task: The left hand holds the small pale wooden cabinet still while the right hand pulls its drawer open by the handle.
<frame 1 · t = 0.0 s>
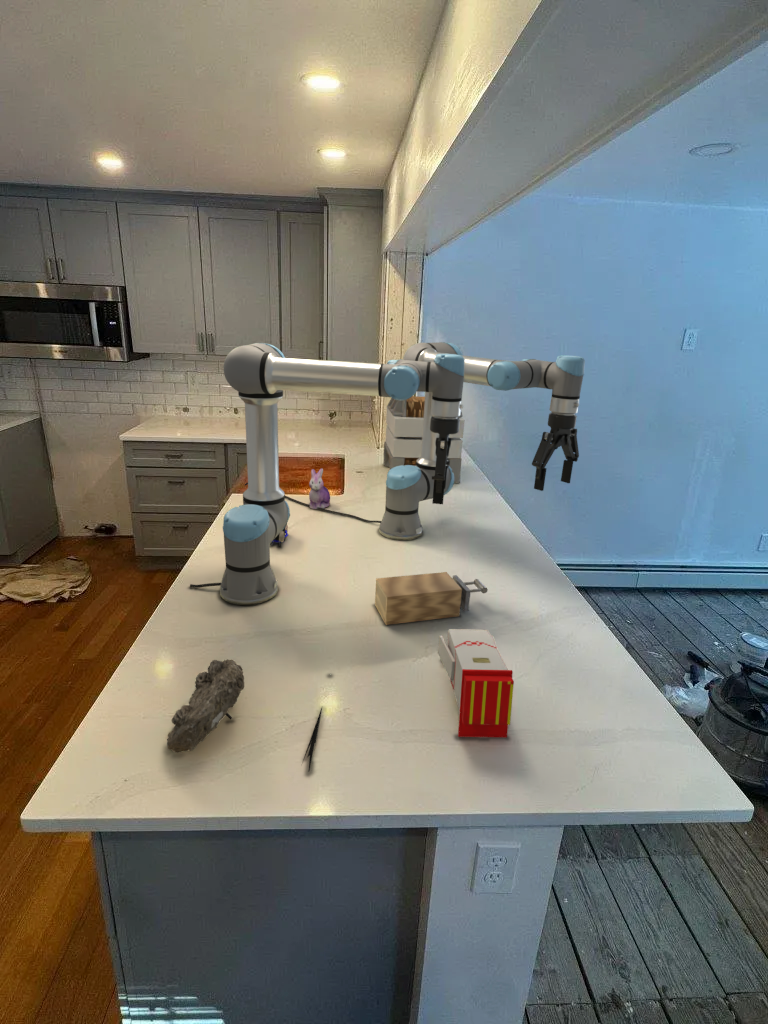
left hand: (439, 495, 152), 28 cm above the counter, tool pointing down, fingers open, 13 cm apart
right hand: (552, 485, 166), 28 cm above the counter, tool pointing down, fingers open, 13 cm apart
cabinet: (416, 610, 150), on the counter
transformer: (419, 473, 275), on the counter
toy: (469, 691, 119), on the counter
feather: (319, 719, 109), on the counter
fossil: (212, 717, 108), on the counter
figurine character: (278, 540, 190), on the counter
figurine: (319, 506, 224), on the counter
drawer: (440, 594, 150), point 4 cm above the counter, slide at 1.6 cm
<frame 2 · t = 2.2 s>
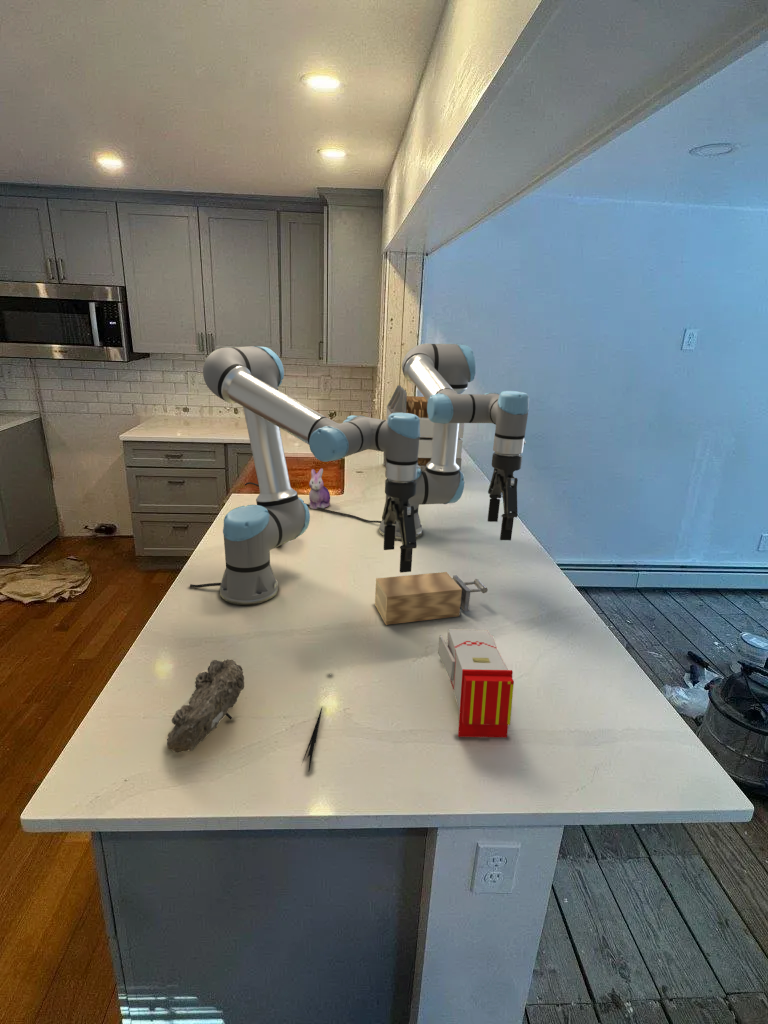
left hand: (396, 560, 143), 15 cm above the counter, tool pointing down, fingers open, 13 cm apart
right hand: (498, 530, 153), 20 cm above the counter, tool pointing down, fingers open, 13 cm apart
nothing on the counter moved.
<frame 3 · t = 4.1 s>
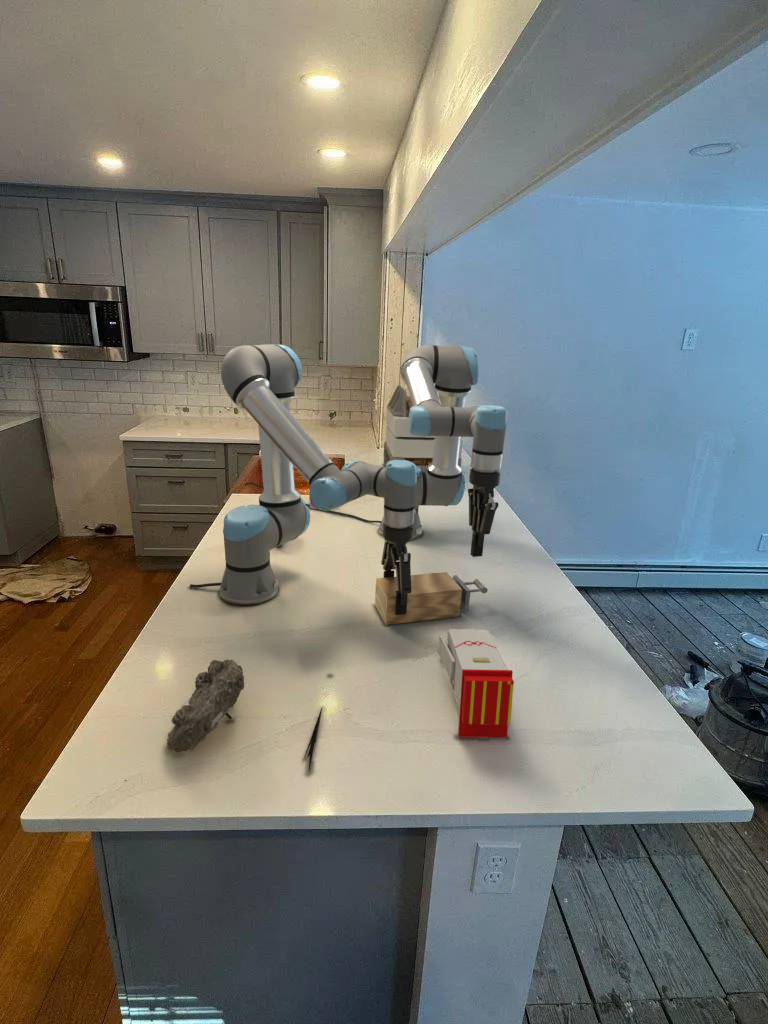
left hand: (394, 603, 147), 3 cm above the counter, tool pointing down, fingers closed on cabinet, 10 cm apart
right hand: (476, 555, 149), 15 cm above the counter, tool pointing down, fingers closed
cabinet: (416, 610, 150), on the counter, touching left hand
everything else where it was.
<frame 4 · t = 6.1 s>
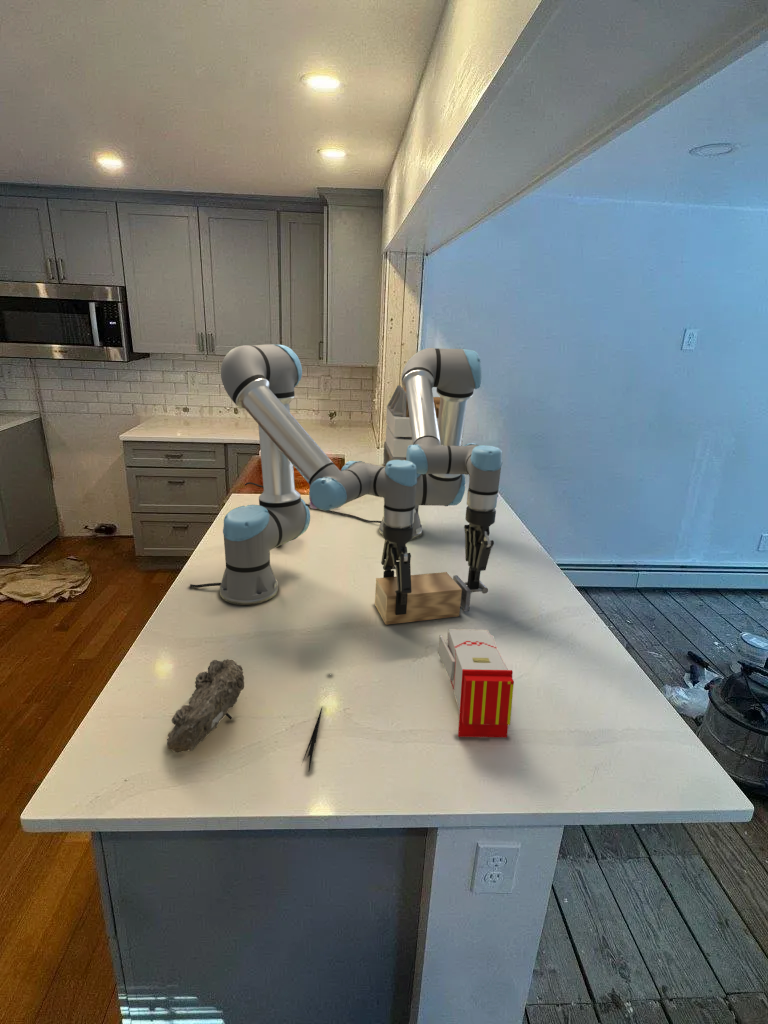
left hand: (394, 603, 147), 3 cm above the counter, tool pointing down, fingers closed on cabinet, 10 cm apart
right hand: (472, 589, 152), 4 cm above the counter, tool pointing down, fingers closed
cabinet: (416, 610, 150), on the counter, touching left hand
everything else where it was.
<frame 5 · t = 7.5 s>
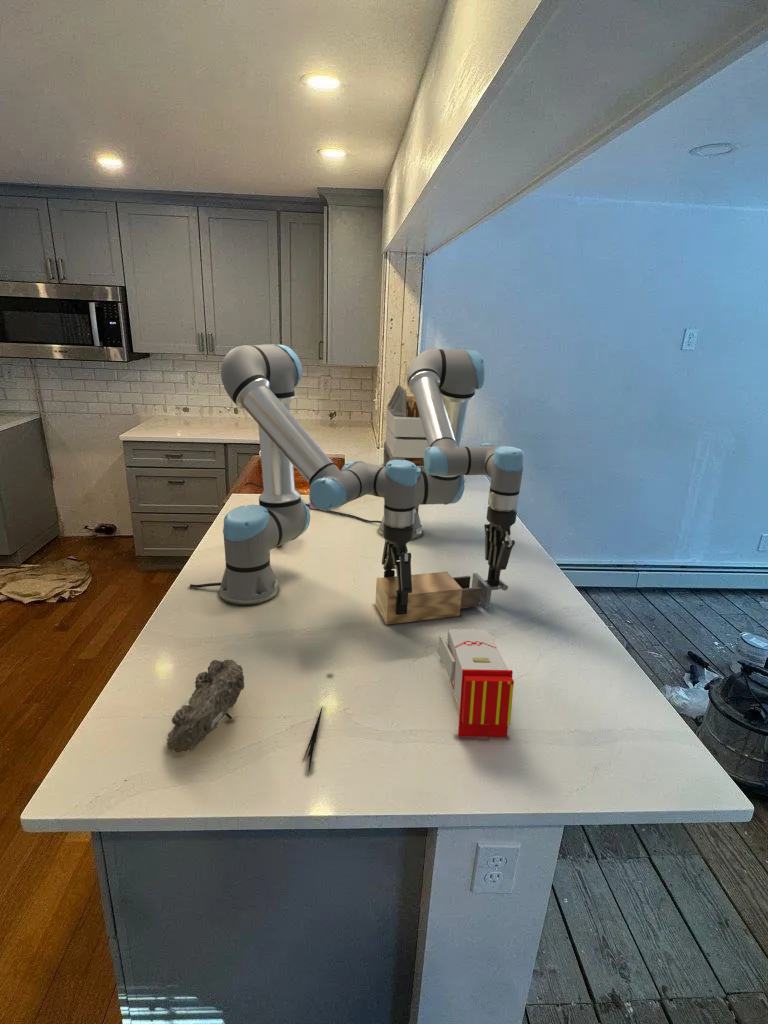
left hand: (394, 603, 147), 3 cm above the counter, tool pointing down, fingers closed on cabinet, 10 cm apart
right hand: (492, 588, 154), 4 cm above the counter, tool pointing down, fingers closed
cabinet: (417, 610, 150), on the counter, touching left hand
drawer: (461, 592, 152), point 4 cm above the counter, slide at 7.6 cm
everything else where it was.
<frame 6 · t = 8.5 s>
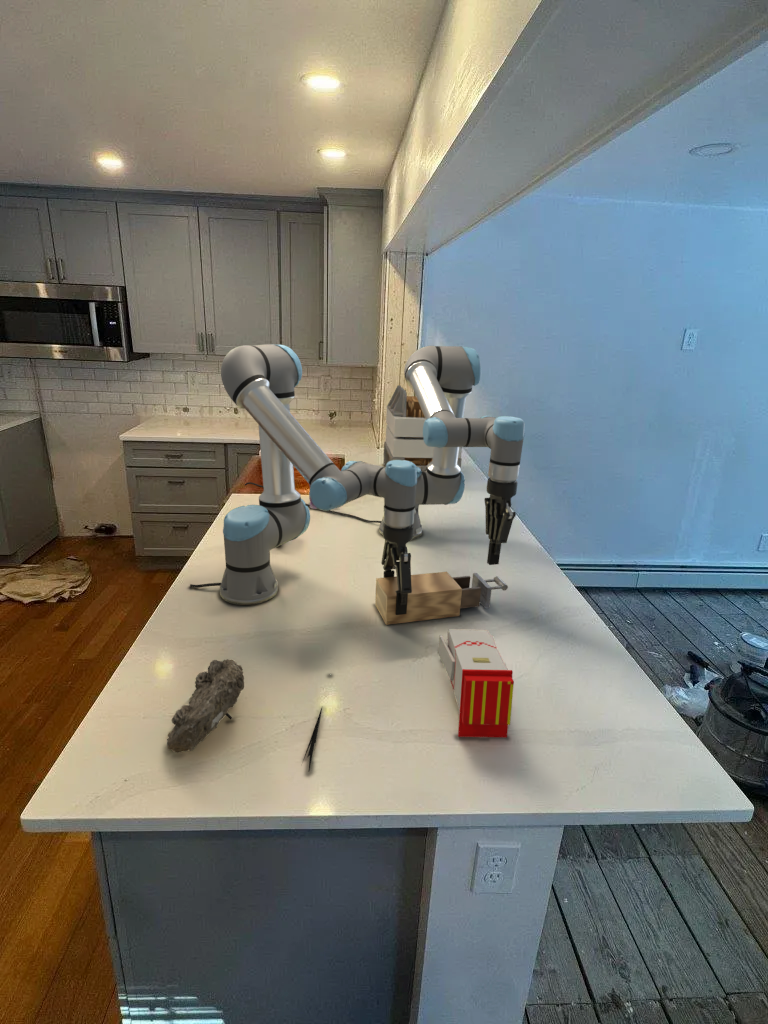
left hand: (394, 603, 147), 3 cm above the counter, tool pointing down, fingers closed on cabinet, 10 cm apart
right hand: (492, 563, 152), 12 cm above the counter, tool pointing down, fingers closed
cabinet: (416, 610, 150), on the counter, touching left hand
everything else where it was.
when the left hand's fingers open (3 cm above the counter, at t = 9.0 s): cabinet stays where it is, on the counter.
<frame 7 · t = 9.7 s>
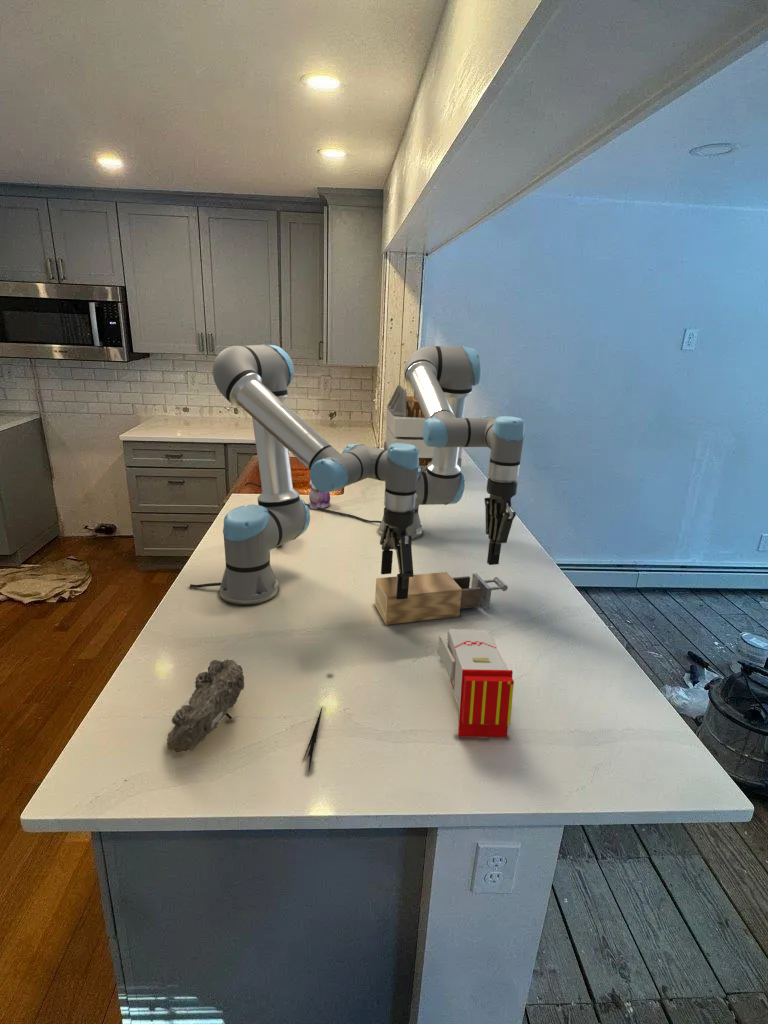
left hand: (393, 585, 145), 8 cm above the counter, tool pointing down, fingers open, 13 cm apart
right hand: (492, 563, 151), 12 cm above the counter, tool pointing down, fingers closed
cabinet: (416, 610, 150), on the counter
everything else where it was.
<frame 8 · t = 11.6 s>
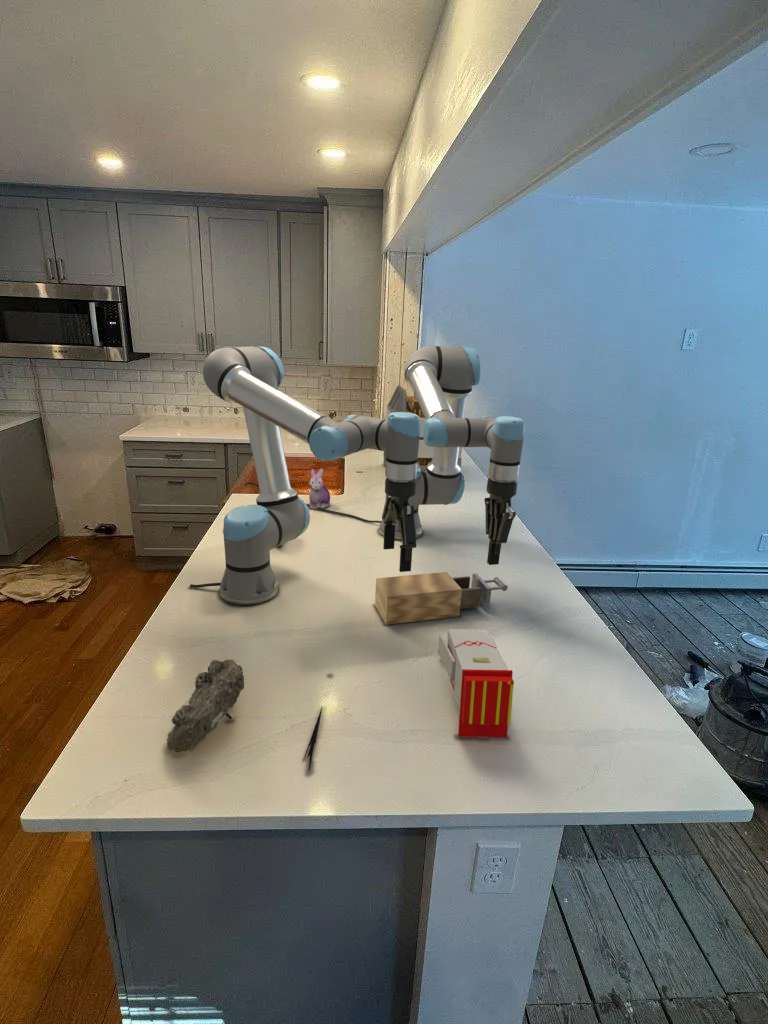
left hand: (396, 559, 143), 15 cm above the counter, tool pointing down, fingers open, 13 cm apart
right hand: (492, 563, 151), 12 cm above the counter, tool pointing down, fingers closed
nothing on the counter moved.
at the end: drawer slide at 7.6 cm; cabinet tilted 0°; cabinet never tilted more than 1° during the clip; cabinet moved 0.1 cm from its start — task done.
